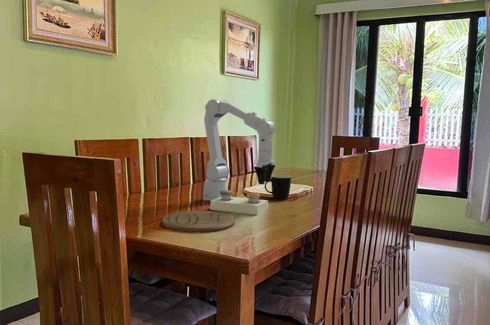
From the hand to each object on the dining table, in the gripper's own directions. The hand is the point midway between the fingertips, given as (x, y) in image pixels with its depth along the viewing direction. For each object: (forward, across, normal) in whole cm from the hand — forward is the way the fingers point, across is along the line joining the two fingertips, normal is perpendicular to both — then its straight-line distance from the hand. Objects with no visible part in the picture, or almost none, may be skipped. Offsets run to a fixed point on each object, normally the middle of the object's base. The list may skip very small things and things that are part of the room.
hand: (264, 182), depth 183 cm
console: (+10, -10, +7) cm, 16 cm away
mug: (+10, +22, +1) cm, 24 cm away
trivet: (+11, -36, +11) cm, 40 cm away
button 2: (+7, -9, +1) cm, 12 cm away
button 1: (+7, -9, +13) cm, 17 cm away
